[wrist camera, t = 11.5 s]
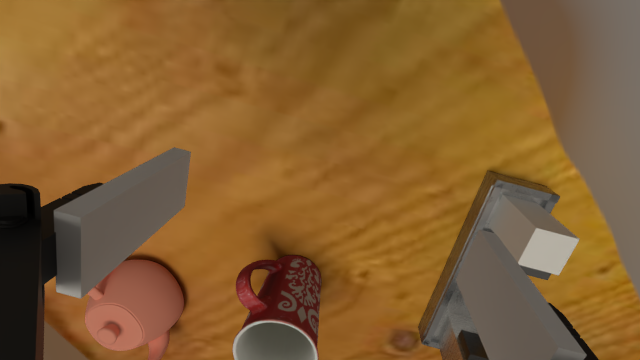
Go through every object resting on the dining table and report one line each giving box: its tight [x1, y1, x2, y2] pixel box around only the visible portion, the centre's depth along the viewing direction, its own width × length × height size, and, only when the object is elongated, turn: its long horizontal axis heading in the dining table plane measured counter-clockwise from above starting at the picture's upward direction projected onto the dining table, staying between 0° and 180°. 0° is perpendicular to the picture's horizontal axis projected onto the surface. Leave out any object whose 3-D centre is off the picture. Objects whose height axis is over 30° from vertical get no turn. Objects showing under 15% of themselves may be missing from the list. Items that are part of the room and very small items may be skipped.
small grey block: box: [488, 195, 580, 280], centre depth 37 cm, size 5×4×8 cm
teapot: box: [85, 260, 184, 360], centre depth 48 cm, size 12×18×10 cm
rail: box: [418, 171, 560, 360], centre depth 41 cm, size 24×7×10 cm, turn 166°
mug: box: [233, 255, 321, 360], centre depth 42 cm, size 13×9×14 cm
